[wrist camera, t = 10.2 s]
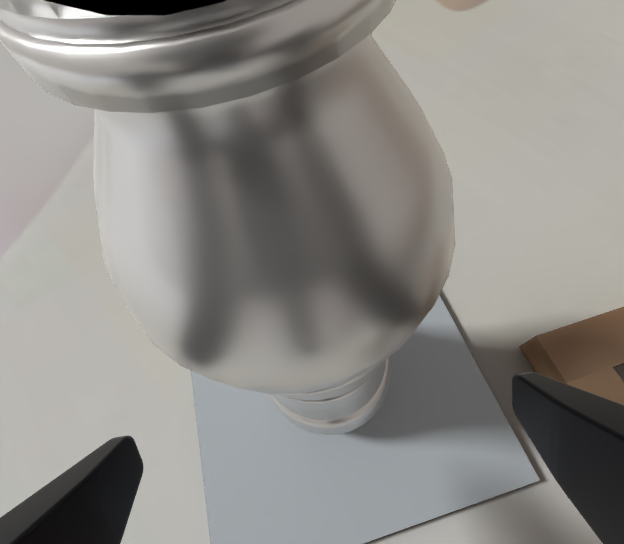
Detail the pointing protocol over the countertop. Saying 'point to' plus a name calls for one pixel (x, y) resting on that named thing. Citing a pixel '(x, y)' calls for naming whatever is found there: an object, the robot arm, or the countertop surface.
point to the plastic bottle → (255, 186)
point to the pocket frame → (583, 354)
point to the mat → (359, 453)
